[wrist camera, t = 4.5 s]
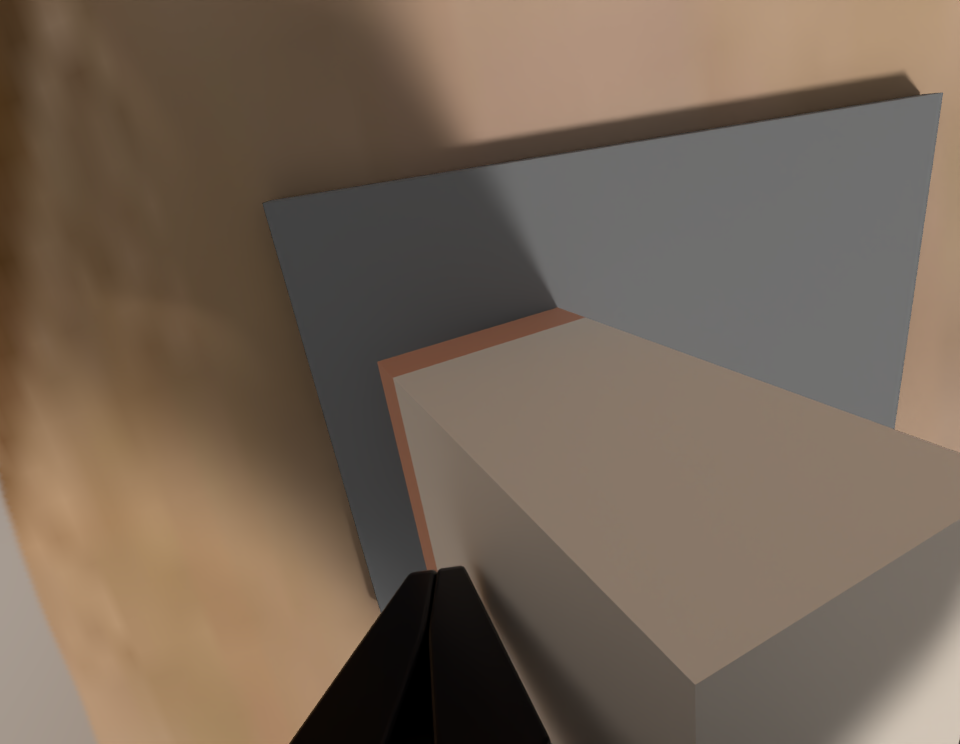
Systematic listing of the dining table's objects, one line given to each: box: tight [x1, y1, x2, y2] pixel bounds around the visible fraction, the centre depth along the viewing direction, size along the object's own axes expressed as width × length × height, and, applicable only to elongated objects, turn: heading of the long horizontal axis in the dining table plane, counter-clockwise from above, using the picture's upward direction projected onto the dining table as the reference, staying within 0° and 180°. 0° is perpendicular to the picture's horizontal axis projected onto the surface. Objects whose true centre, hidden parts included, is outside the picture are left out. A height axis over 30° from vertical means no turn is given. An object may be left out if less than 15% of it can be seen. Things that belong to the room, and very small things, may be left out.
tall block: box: [377, 307, 960, 744], centre depth 9 cm, size 4×5×8 cm
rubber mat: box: [262, 93, 943, 613], centre depth 13 cm, size 13×11×1 cm
